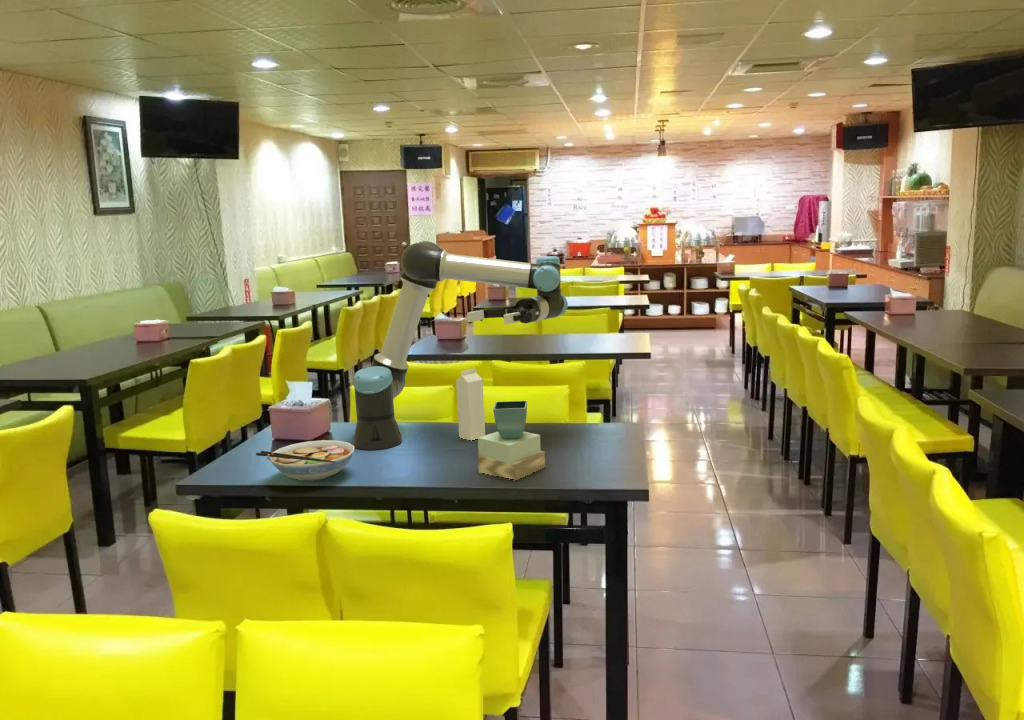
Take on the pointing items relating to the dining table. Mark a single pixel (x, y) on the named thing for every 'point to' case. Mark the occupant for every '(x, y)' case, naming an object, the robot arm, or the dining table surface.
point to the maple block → (512, 466)
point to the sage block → (509, 447)
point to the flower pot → (510, 418)
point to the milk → (470, 405)
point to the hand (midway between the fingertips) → (486, 318)
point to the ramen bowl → (311, 459)
